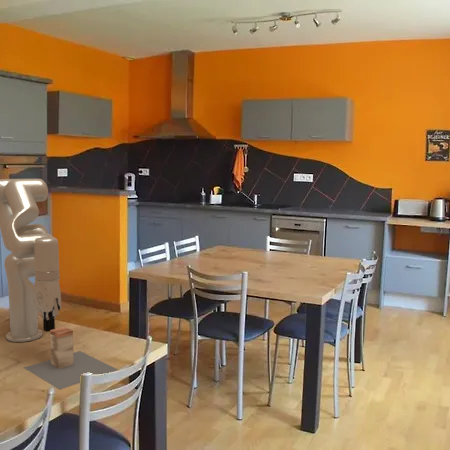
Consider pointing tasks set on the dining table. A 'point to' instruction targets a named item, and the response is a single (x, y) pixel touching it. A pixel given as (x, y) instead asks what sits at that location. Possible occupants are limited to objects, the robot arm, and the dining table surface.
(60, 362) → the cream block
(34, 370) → the mat
